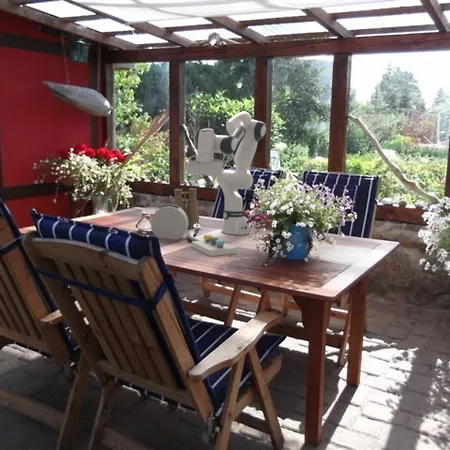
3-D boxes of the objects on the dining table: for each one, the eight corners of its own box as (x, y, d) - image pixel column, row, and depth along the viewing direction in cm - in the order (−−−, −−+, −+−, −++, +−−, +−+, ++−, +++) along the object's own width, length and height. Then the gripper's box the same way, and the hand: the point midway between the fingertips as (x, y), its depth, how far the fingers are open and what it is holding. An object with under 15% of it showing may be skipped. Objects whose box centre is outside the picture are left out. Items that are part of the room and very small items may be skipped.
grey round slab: (188, 237, 315) (189, 204, 311) (186, 239, 308) (186, 206, 304) (153, 235, 317) (153, 202, 313) (150, 237, 310) (150, 204, 306)
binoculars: (194, 224, 353) (195, 187, 348) (202, 227, 345) (203, 189, 340) (167, 227, 341) (167, 188, 336) (174, 230, 333) (175, 190, 328)
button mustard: (209, 242, 294) (209, 234, 293) (213, 244, 290) (213, 235, 289) (201, 243, 292) (202, 234, 291) (205, 244, 288) (206, 236, 287)
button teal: (221, 248, 282) (222, 239, 281) (226, 250, 278) (226, 241, 277) (213, 248, 280) (214, 240, 279) (218, 250, 276) (218, 242, 275)
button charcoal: (215, 245, 288) (215, 236, 287) (219, 247, 284) (220, 238, 283) (207, 245, 286) (208, 237, 285) (211, 247, 282) (212, 239, 281)
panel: (217, 244, 299) (217, 239, 298) (236, 253, 280) (236, 247, 279) (191, 246, 291) (191, 241, 290) (209, 255, 272) (210, 250, 272)
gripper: (225, 159, 290) (223, 184, 293) (189, 157, 295) (188, 181, 297) (222, 159, 284) (220, 185, 286) (186, 157, 289) (184, 182, 291)
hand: (204, 183), depth 292 cm, fingers open, 8 cm apart
